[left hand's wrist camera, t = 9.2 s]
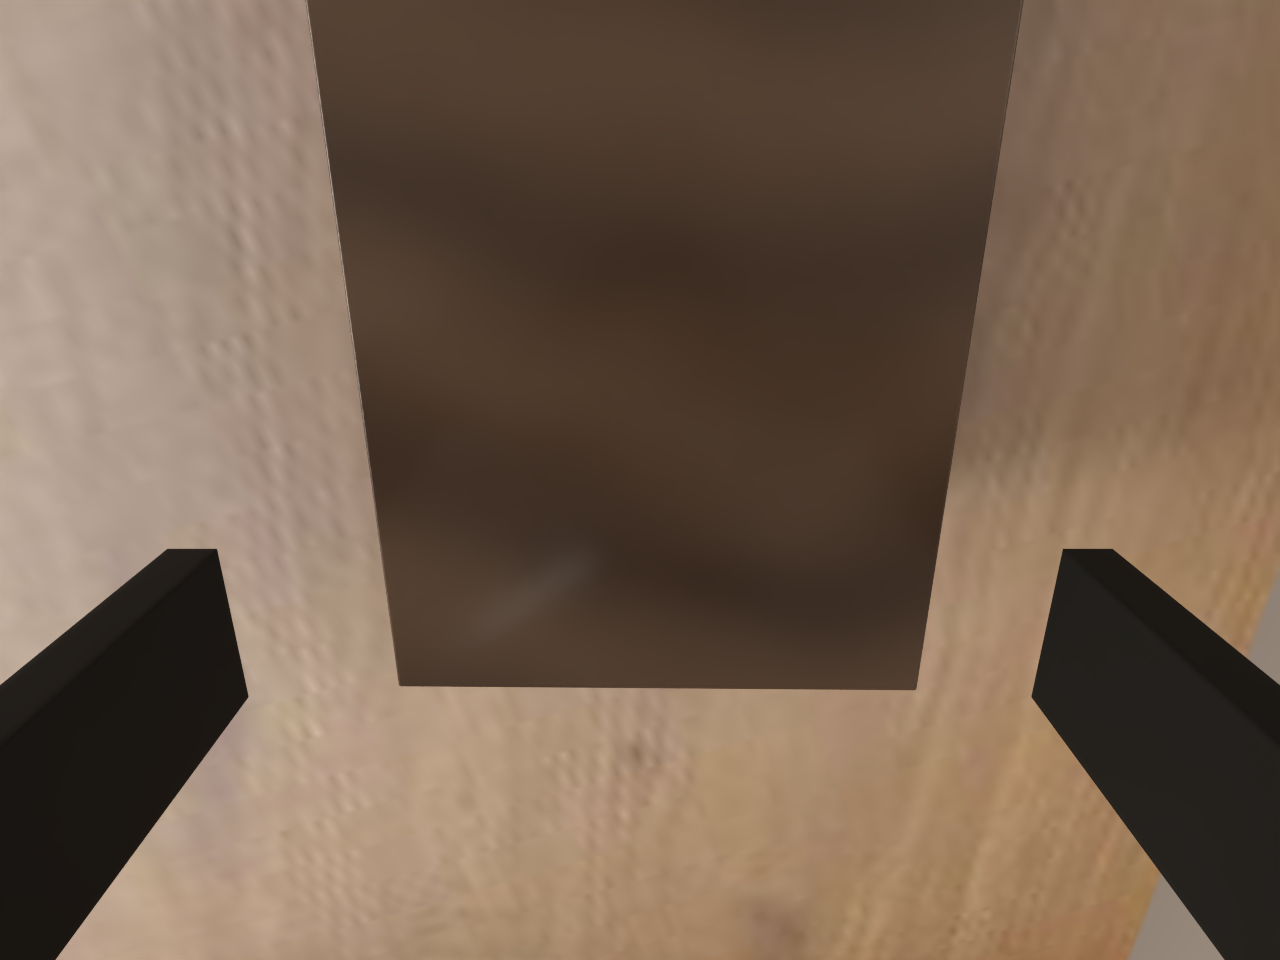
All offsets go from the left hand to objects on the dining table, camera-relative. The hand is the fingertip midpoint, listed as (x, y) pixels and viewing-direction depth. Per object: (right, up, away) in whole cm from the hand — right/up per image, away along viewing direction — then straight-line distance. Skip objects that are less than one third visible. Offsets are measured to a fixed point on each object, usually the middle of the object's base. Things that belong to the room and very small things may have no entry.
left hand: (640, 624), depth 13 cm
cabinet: (0, +10, +9) cm, 13 cm away
